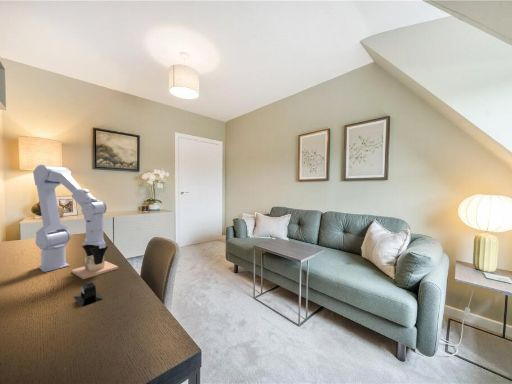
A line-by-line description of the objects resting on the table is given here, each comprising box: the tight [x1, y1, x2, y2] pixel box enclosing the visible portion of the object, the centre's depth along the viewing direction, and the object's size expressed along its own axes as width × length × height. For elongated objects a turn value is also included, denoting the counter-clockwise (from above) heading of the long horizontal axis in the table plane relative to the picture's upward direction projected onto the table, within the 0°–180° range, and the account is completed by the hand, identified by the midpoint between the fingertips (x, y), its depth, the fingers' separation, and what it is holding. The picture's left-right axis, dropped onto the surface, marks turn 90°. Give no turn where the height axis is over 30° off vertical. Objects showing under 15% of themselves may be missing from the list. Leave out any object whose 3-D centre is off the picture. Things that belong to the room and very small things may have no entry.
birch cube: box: [84, 255, 105, 271], centre depth 86 cm, size 5×5×5 cm
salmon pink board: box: [71, 260, 119, 280], centre depth 86 cm, size 12×12×1 cm
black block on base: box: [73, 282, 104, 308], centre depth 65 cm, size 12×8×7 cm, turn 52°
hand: (95, 262), depth 86 cm, fingers open, 5 cm apart
